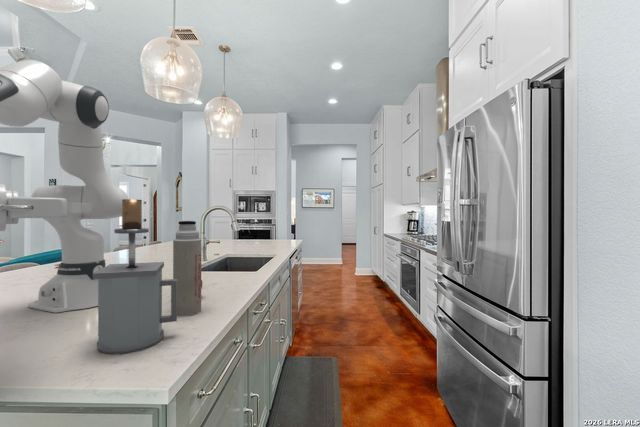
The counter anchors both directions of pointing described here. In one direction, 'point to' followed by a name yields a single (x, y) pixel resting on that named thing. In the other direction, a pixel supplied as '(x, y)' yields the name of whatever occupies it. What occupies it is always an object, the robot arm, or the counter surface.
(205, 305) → the counter surface
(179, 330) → the counter surface
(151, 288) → the press carafe
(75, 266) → the robot arm
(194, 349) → the counter surface
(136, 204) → the brown candle holder
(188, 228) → the thermos bottle
